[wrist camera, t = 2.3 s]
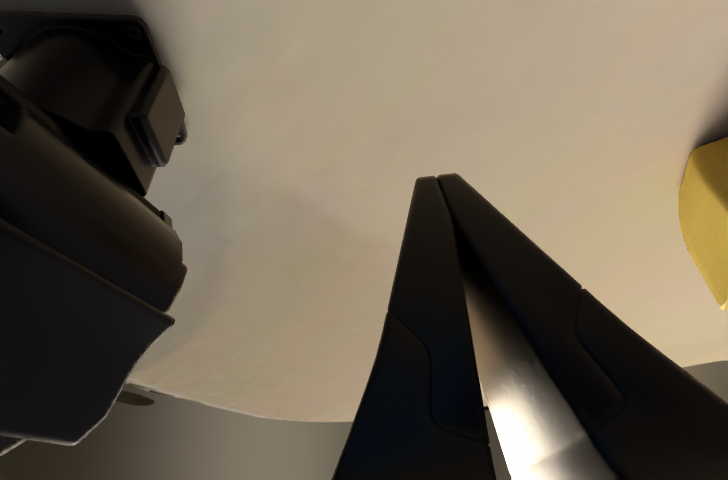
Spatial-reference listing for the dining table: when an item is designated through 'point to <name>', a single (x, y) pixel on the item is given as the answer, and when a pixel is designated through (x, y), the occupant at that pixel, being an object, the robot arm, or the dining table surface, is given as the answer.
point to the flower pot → (707, 215)
